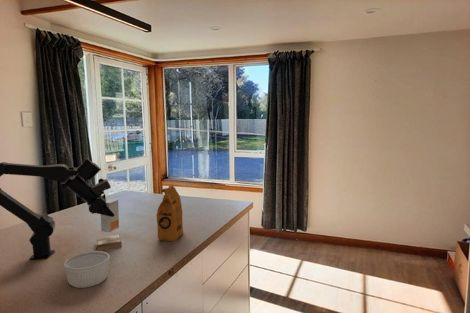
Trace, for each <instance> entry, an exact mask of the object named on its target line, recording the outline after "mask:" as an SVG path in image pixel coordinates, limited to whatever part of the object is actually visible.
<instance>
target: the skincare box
mask: <svg viewBox="0 0 470 313" xmlns="http://www.w3.org/2000/svg"><path fill="white" fill-rule="evenodd" d="M106 206H107V207H108V208H109V209H110V210H111V211H112V212H113V213H114V216H113V217H111V216H106V215H102V214H100V229H101V230H100V231H101V232H104V233H112V232H113V231H116V230H117V229H119V228H120V220H119V219H120V217H119V215H120V214H119V210H120V209H119V199H116V198H115V199H114V198H109V199H106Z"/></svg>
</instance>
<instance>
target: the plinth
mask: <svg viewBox="0 0 470 313" xmlns="http://www.w3.org/2000/svg"><path fill="white" fill-rule="evenodd" d="M121 248H122V236H121V233H119V234H112V235H105V236H97V239H96V251H103V252H104V251H109V250H115V249H121Z"/></svg>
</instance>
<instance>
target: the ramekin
mask: <svg viewBox="0 0 470 313" xmlns="http://www.w3.org/2000/svg"><path fill="white" fill-rule="evenodd" d="M110 259H111V258H110V253H108V252H106V251H104V250H103V251H97V250H93V251H91V250H90V251H85V252H81V253H77V254H75V255H73V256H71V257H69V258H67V259H66V260H65V261H64V263H63V266H64V267H63V268H64V270H65V274H66V278H67V281H68V284H69V285H71V287H74V288H76V289H77V288H78V289H87V288H90V287H93V286H97V285H99V284H101V283H103V282H104V281H105V280H106V278H107V277H108V275H109V268H110V267H109V266H110V261H111V260H110Z"/></svg>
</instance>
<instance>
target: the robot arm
mask: <svg viewBox="0 0 470 313" xmlns="http://www.w3.org/2000/svg"><path fill="white" fill-rule="evenodd" d="M101 170H102V168H101V167H100V166H98V164H96V163H95V162H93V161H91V159H89V158H85V159H84V161H83V162H82V163H81V164H80V165H79V166H78V167H73V166H72V167H71V166H68V165H67V164H64V163H58V164H49V165H37V164H23V163H13V162H7V161H3V162H0V177H1V176H4V175H11V176H13V175H14V176H26V177H29V176H30V177H41V178H45V179H48V180H51V181H57V182H61V183H60V188H61V189H60V190H61V191H65V189H69V190H70V191H71V192H73V194H75V195H76V196H77V197H78V198H79V200H80V199H82V200H83V201H84V202H86V205H87V206H88V212H89V213H90V214H92V215H94V214H97V215H98V214H99V215H101V214H102V215H106V216H111V217H113V216H114V213H113V212H112V211H111V210H110V209H109V208H108V207H107V206H106V200H107V199H106V198H107V197H106V193H105V191H107V190H109V189H111V188H112V185H111V183H110V182H109V180H108V179H107V178H106V179H104V178H103V177H101V178H99V179H98V183H95V184H94V185H93V184H92V183H87V181H89V180H90V181H91V180H92V179H94V177H95V176H97V174H99V172H100V171H101ZM65 180H66V181H65ZM64 181H65V182H64ZM0 207H1V208H4V209H5V210H6V211H7V212H10V213H11V214H12V215H14V216H15V217H16V218H18V219H20V220H21V221H23V222H24V223H25V224H27V226H28V227H29V229H30V230H31V231H32V232H33V233H32V234H31V236H30V238H29V239H28V241H29V242H30V244H31V245H32V254H33V255H30V257H29V260H40V259H42V260H43V259H48V258H50V256H52V254H54V253H55V249H51V241H50V237H51V236H52V234H54V232H55V231H54V230H55V228H56V222H55V220H54V217H51V216H50V215H48V214H47V213H46V212H45V211H44V212H42V214H39V213H37V212H35V211H33V210H32V209H30V208H29V207H28V206H26V205H25V204H23V203H21V202H20V201H18V200H17V199H16V198H14V197H13V196H12V195H10V194H8V193H7V192H5V191H4V190H2V188H1V187H0Z"/></svg>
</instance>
